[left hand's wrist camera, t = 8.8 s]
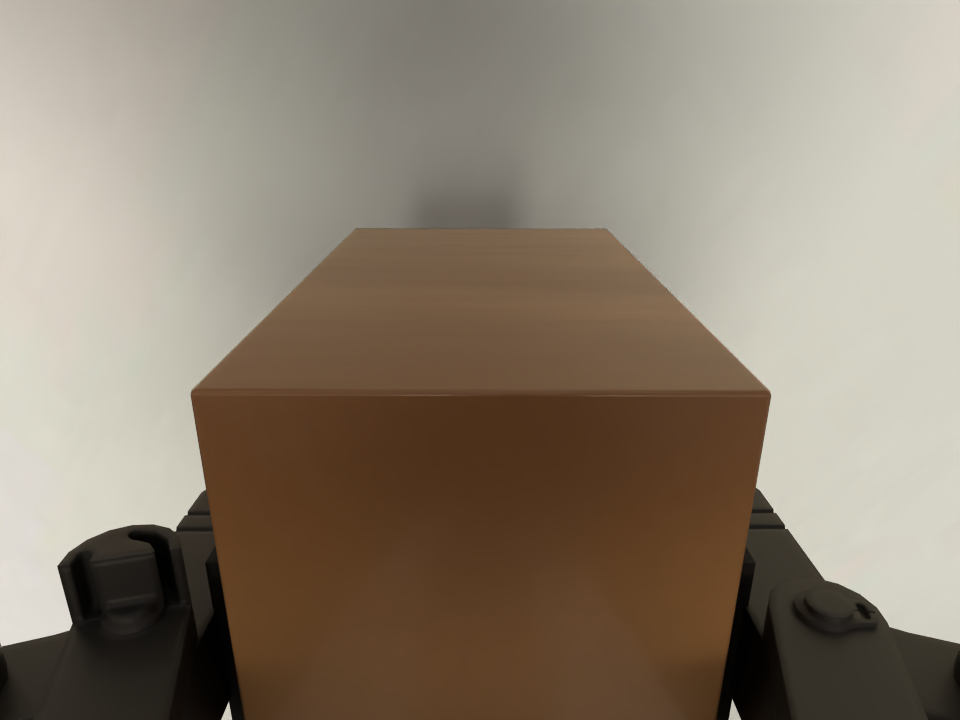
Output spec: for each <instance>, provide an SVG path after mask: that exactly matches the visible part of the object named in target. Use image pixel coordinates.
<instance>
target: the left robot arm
mask: <svg viewBox="0 0 960 720" xmlns="http://www.w3.org/2000/svg"><path fill="white" fill-rule="evenodd" d="M57 567H58V571H59V574H60V578H61V582H62V586H63V589H64V593H65V597H66V600H67V604H68V608H69V612H70V615H71V619H72V623H73V624H72V627H71V629H70V631H67V632H63V633H60V634H56V635H52V636H48V637H43V638H39V639H34V640H30V641H25V642H21V643H16V644H12V645H7V646H2V647H1V644H0V720H221V718H222V716H223V714H224V711H225V709H226V707H227V704H228V702H229V703H230V709H231V715H232V720H244V715H243V709H242V703H241V697H240V691H239V684H238V678H237V672H236V666H235V660H234V654H233V648H232V642H231V636H230V630H229V624H228V618H227V612H226V606H225V600H224V594H223V588H222V581H221V575H220V569H219V563H218V557H217V551H216V545H215V539H214V533H213V527H212V521H211V515H210V509H209V503H208V497H207V491H206V490H205V491H203V492H202V493H201V494H200V495H199V497H198V498H197V500H196V501H195V502H194V504H193V505H192V507H191V508H190V509H189V511H188V515H185V516H184V518H183V519H182V521H181V522H180V523H179V525H178V526H177V530H176V532H173V531H172V530H171V529H170V528H166V527H162V526H157V525H131V526H127V527H122V528H118V529H114V530H109V531H107V532H105V533H102V534H100V535H98V536H95V537H93V538H90V539H88V540H86V541H85V542H83V543H82V544H80V545H79V546H77V547H76V548H74V549H73V550H72V551H70V552H69V553H68V554H67V555H66V556H65V558H64V559H63V560H62V561H61V562H60V564H59V565H58V566H57ZM732 699H733V701H734V704H735V706H736V708H737V711H738V713H739V716H740V718H741V720H960V644H958V643H953V642H949V641H944V640H939V639H935V638H930V637H926V636H921V635H917V634H912V633H908V632H904V631H901V630H897V629H894V628H890V627H889V625H888V623H887V621H886V620H885V619H884V617H883V616H882V614H881V613H880V612H879V610H878V609H877V607H875V606H874V605H873V604H871V603H870V602H869V601H868V600H866V599H865V598H864V597H862V596H861V595H860V594H858V593H856V592H854V591H852V590H850V589H848V588H846V587H844V586H841V585H839V584H836V583H833V582H829V581H825V580H824V579H823V577H822V576H821V575H820V573H819V572H818V570H817V569H816V568H815V566H814V565H813V563H812V562H811V561H810V559H809V558H808V557H807V555H806V554H805V552H804V551H803V550H802V548H801V547H800V546H799V544H798V543H797V541H796V540H795V539H794V537H793V536H792V534H791V533H790V532H789V530H788V529H785V525H784V523H783V522H782V521H781V519H780V518H779V516H778V515H777V514H776V513H774V512H773V508H772V507H771V505H770V504H769V503H768V501H767V500H766V499H765V497H764V496H763V494H762V493H761V492H760V490H758V489H757V488H755V494H754V500H753V506H752V512H751V518H750V523H749V529H748V535H747V541H746V547H745V553H744V559H743V565H742V571H741V577H740V582H739V588H738V594H737V600H736V606H735V612H734V618H733V624H732V630H731V636H730V642H729V647H728V653H727V659H726V665H725V671H724V677H723V683H722V689H721V695H720V701H719V706H718V712H717V718H716V720H728V719H729V714H730V708H731V702H732Z"/></svg>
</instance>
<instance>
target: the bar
mask: <svg viewBox="0 0 960 720" xmlns="http://www.w3.org/2000/svg"><path fill="white" fill-rule="evenodd" d="M770 399H771V393H770V391H769V390H768V389H767V388H766V387H765V386H764V385H763V384H762V383H761V382H760V381H759V380H758V379H757V378H756V377H755V376H754V375H753V374H752V373H751V372H750V371H749V370H748V369H747V368H746V367H745V366H744V365H743V364H742V363H741V362H740V361H739V360H738V359H737V358H736V357H735V356H734V355H733V354H732V353H731V352H730V351H729V350H728V349H727V348H726V347H725V346H724V345H723V344H722V343H721V342H720V341H719V340H718V339H717V338H716V337H715V336H714V335H713V334H712V333H711V332H710V331H709V330H708V329H707V328H706V327H705V326H704V325H703V324H702V323H701V322H700V321H699V320H698V319H697V318H696V317H695V316H694V315H693V314H692V313H691V312H690V311H689V310H688V309H687V308H686V307H685V306H684V305H683V304H682V303H681V302H680V301H679V300H678V299H677V298H676V297H675V296H674V295H673V294H672V293H671V292H670V291H669V290H667V289H666V288H665V287H664V286H663V285H662V284H661V283H660V282H659V281H658V280H657V279H656V278H655V277H654V276H653V275H652V274H651V273H650V272H649V271H648V270H647V269H646V268H645V267H644V266H643V265H642V264H641V263H640V262H639V261H638V260H637V259H636V258H635V257H634V256H633V255H632V254H631V253H630V252H629V251H628V250H627V249H626V248H625V247H624V246H623V245H622V244H621V243H620V242H619V241H618V240H617V239H616V238H615V237H614V236H613V235H612V234H611V233H610V232H609V231H608V230H607V229H456V228H356V229H355V230H354V231H353V232H352V233H351V234H350V235H349V236H348V237H347V238H346V239H345V240H343V241H342V242H341V243H340V244H339V245H338V246H337V247H336V248H335V249H334V250H333V251H332V252H331V253H330V254H329V255H328V256H327V257H326V258H325V259H324V260H323V261H322V262H321V263H320V264H319V265H318V266H317V267H316V268H315V269H314V270H313V271H312V272H311V273H310V274H309V275H308V276H307V277H306V278H305V279H304V280H303V281H302V282H301V283H300V284H299V285H298V286H297V287H296V288H295V289H294V290H293V291H292V292H291V293H290V294H289V295H288V296H287V297H286V298H285V299H284V300H283V301H282V302H281V303H280V304H279V305H278V306H277V307H276V308H274V309H273V310H272V311H271V312H270V313H269V314H268V315H267V316H266V317H265V318H264V319H263V320H262V321H261V322H260V323H259V324H258V325H257V326H256V327H255V328H254V329H253V330H252V331H251V332H250V333H249V334H248V335H247V336H246V337H245V338H244V339H243V340H242V341H241V342H240V343H239V344H238V345H237V346H236V347H235V348H234V349H233V350H232V351H231V352H230V353H229V354H228V355H227V356H226V357H225V358H224V359H223V360H222V361H221V362H220V363H219V364H218V365H217V366H216V367H215V368H214V369H213V370H212V371H211V372H210V373H209V374H208V375H207V376H206V377H204V378H203V379H202V380H201V381H200V382H199V383H198V384H197V385H196V386H195V387H194V388H193V389H192V391H191V400H192V406H193V412H194V418H195V424H196V430H197V436H198V442H199V448H200V454H201V460H202V466H203V472H204V479H205V485H206V491H207V497H208V503H209V509H210V515H211V521H212V527H213V533H214V539H215V545H216V551H217V557H218V563H219V569H220V575H221V581H222V588H223V594H224V600H225V606H226V612H227V618H228V624H229V630H230V636H231V642H232V648H233V654H234V660H235V666H236V672H237V678H238V684H239V691H240V697H241V703H242V709H243V715H244V720H716V718H717V712H718V706H719V701H720V695H721V689H722V683H723V677H724V671H725V665H726V659H727V653H728V647H729V642H730V636H731V630H732V624H733V618H734V612H735V606H736V600H737V594H738V588H739V582H740V577H741V571H742V565H743V559H744V553H745V547H746V541H747V535H748V529H749V523H750V518H751V512H752V506H753V500H754V494H755V488H756V482H757V476H758V470H759V464H760V458H761V453H762V447H763V441H764V435H765V429H766V423H767V417H768V411H769V405H770Z"/></svg>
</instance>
